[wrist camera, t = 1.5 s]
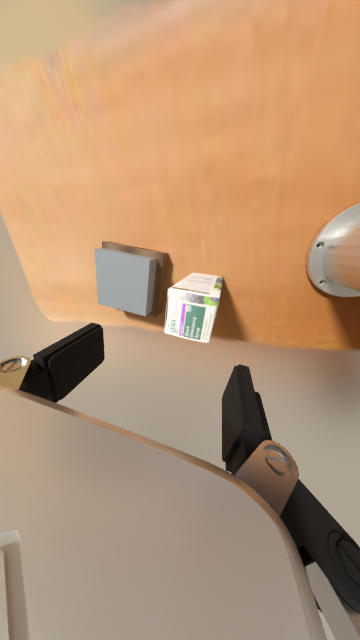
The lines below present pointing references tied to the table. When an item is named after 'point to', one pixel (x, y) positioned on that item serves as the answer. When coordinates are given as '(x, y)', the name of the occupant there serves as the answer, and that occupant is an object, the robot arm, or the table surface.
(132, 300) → the tower top
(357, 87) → the table surface
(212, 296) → the syrup box
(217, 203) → the table surface
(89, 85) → the table surface
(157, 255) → the tower base
